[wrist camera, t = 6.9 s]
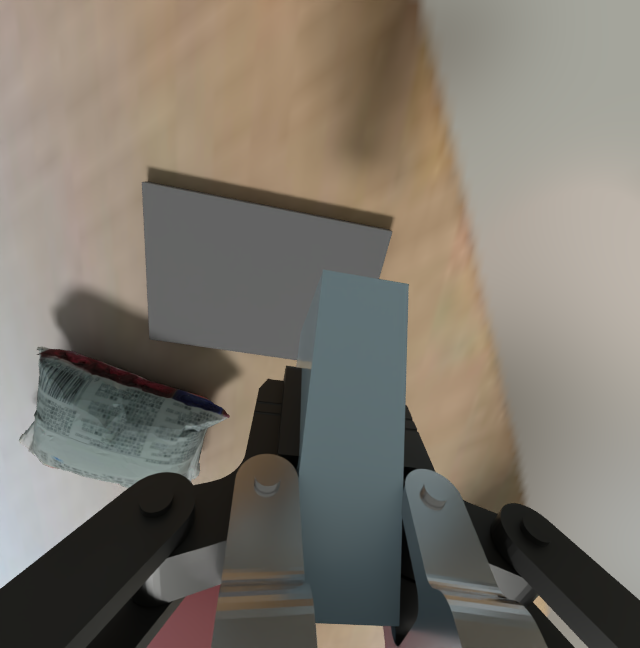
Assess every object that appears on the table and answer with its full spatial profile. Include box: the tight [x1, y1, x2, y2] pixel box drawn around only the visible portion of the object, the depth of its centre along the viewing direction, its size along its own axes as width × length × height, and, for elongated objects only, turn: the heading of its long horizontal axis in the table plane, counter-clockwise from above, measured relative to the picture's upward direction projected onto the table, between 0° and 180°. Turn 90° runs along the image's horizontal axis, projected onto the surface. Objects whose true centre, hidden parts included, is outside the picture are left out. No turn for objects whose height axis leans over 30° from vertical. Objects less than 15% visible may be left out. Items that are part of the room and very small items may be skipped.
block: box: [296, 270, 409, 626], centre depth 10 cm, size 2×7×6 cm
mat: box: [142, 182, 392, 360], centre depth 18 cm, size 13×9×1 cm
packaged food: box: [19, 347, 230, 488], centre depth 20 cm, size 9×12×5 cm
